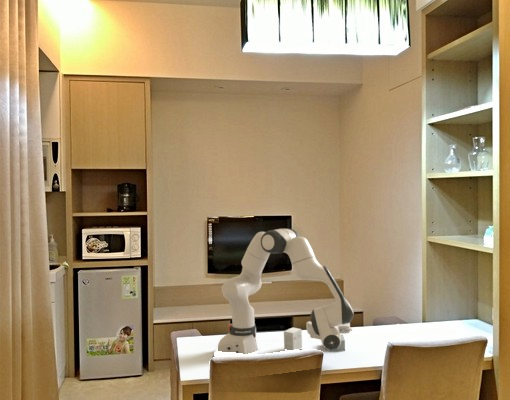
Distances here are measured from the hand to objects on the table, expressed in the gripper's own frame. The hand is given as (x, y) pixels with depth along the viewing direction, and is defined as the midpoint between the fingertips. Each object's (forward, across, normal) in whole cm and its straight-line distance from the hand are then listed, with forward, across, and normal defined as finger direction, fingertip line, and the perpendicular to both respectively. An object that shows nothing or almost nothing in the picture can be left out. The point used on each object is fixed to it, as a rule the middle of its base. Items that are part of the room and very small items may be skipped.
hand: (327, 322), depth 222 cm
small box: (+6, +17, +16) cm, 24 cm away
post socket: (+11, -4, +16) cm, 20 cm away
